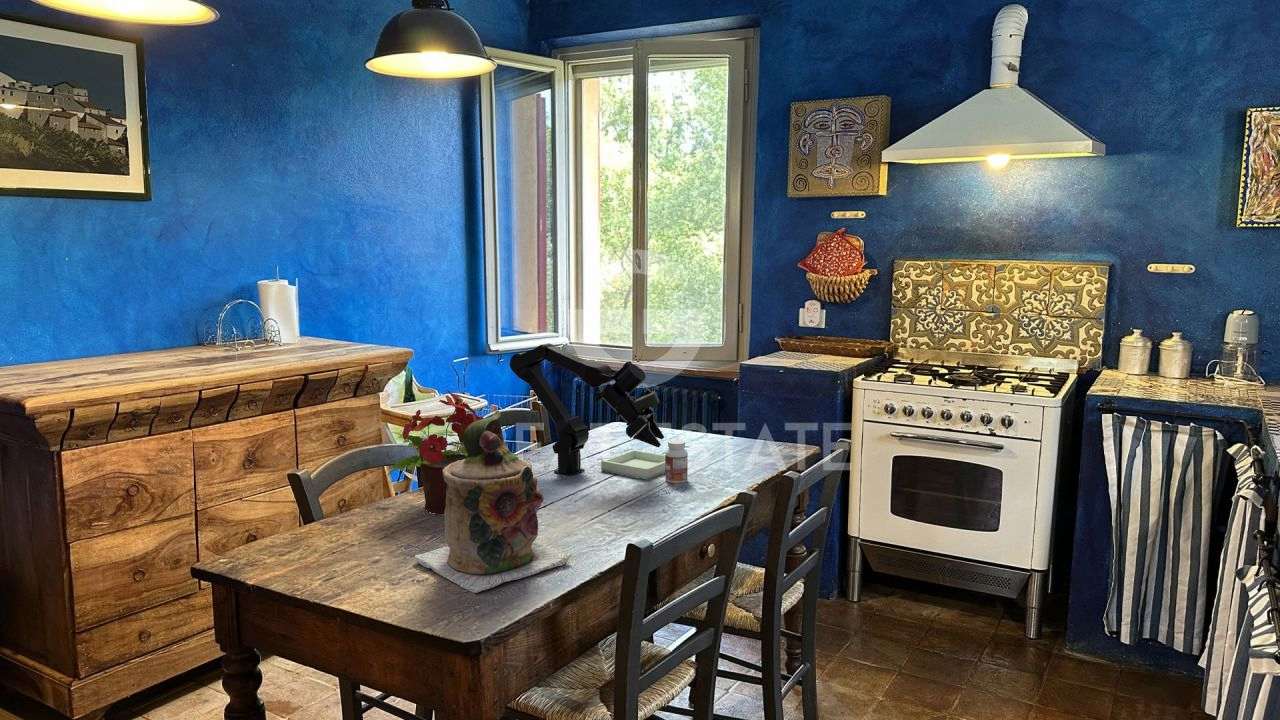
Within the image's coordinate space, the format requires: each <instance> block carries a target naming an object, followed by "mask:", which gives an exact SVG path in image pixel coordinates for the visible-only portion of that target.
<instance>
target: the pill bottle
mask: <svg viewBox="0 0 1280 720" xmlns="http://www.w3.org/2000/svg"><path fill="white" fill-rule="evenodd" d="M664 455H665V473H664V476H665V477H664V479H665V481H666V482H668V483H669V484H683V483H685V482H687V481H688V473H689V471H688V470H689V469H688V467H689V466H688V464H689V463H688V462H689V460H688V459H689V458H688V457H689V455H688V451H687V449H686V442H685V440H682V439H671V440H668V442H667V449H666V451H665V454H664Z"/></svg>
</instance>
